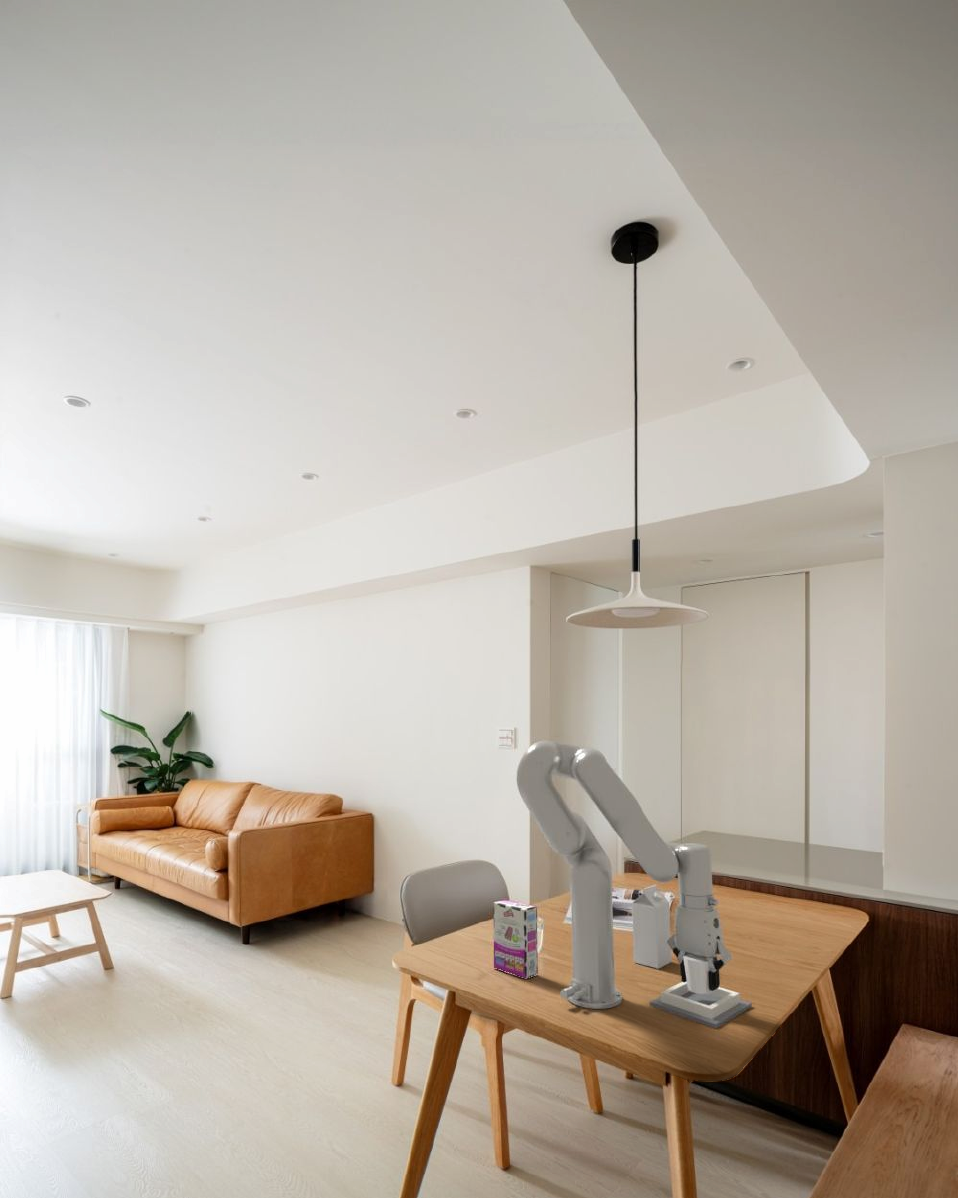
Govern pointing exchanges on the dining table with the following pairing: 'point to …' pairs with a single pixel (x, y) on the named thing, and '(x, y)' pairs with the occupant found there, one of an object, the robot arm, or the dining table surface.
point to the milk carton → (651, 928)
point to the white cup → (697, 973)
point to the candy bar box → (515, 938)
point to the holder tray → (701, 1004)
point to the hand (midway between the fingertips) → (700, 984)
